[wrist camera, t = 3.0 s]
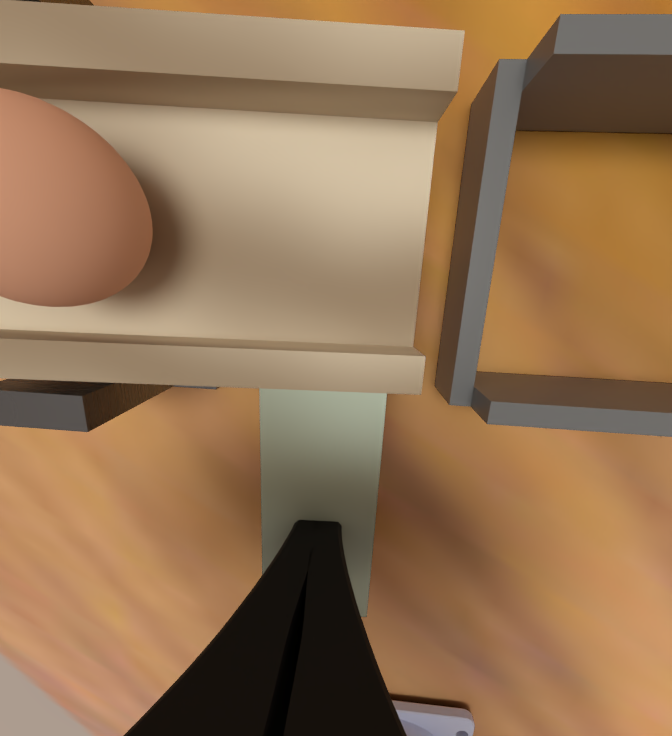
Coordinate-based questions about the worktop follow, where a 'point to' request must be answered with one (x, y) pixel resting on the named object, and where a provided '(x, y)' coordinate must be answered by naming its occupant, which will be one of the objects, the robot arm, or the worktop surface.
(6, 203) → the ball
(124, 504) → the worktop surface
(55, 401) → the pivot stand
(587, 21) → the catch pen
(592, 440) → the worktop surface
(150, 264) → the lever
